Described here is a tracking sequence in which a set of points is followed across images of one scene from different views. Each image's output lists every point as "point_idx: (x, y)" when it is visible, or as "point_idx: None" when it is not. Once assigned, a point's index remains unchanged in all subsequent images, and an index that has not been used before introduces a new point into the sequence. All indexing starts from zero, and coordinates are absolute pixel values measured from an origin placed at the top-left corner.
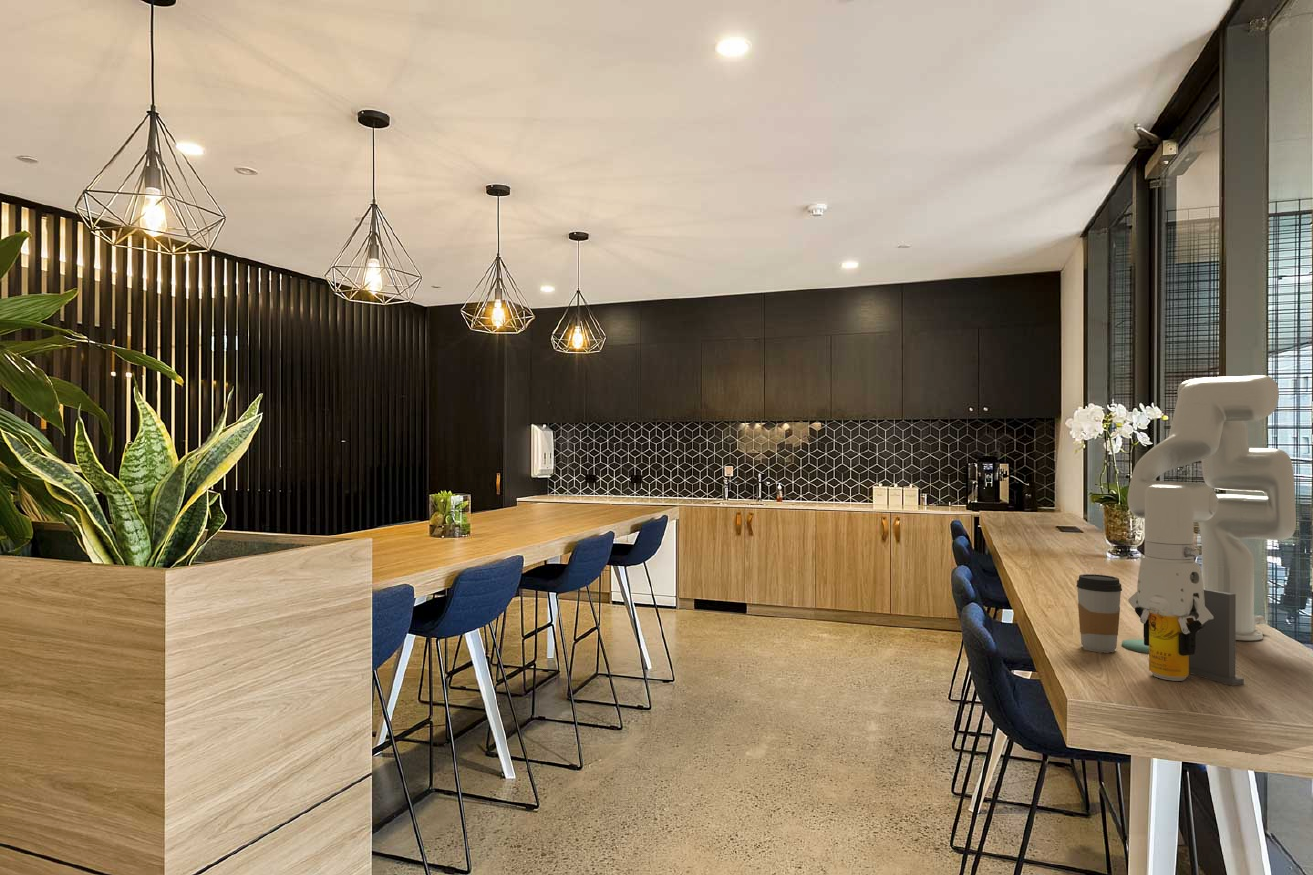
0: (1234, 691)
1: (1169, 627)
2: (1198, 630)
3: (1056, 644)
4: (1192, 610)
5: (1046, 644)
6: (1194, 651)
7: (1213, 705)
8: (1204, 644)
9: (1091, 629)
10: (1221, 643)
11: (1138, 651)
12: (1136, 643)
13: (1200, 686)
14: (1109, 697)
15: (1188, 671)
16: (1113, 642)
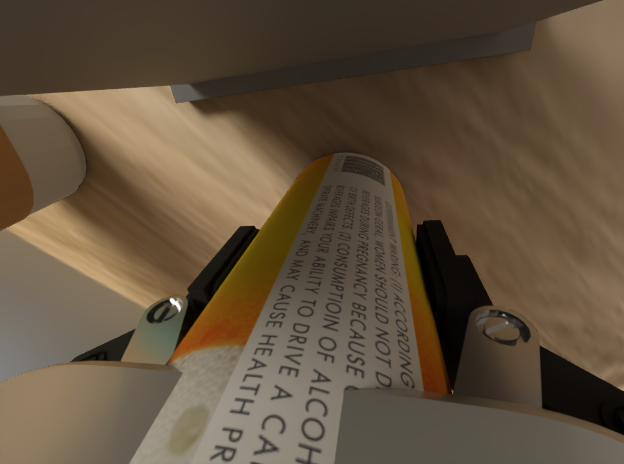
0: (562, 119)
1: None
2: (548, 355)
3: (31, 224)
4: (456, 433)
5: (40, 247)
6: (440, 223)
7: (587, 311)
8: (377, 40)
9: (8, 225)
10: (541, 8)
11: None
12: None
13: (455, 189)
14: None
15: (401, 189)
16: (46, 145)
